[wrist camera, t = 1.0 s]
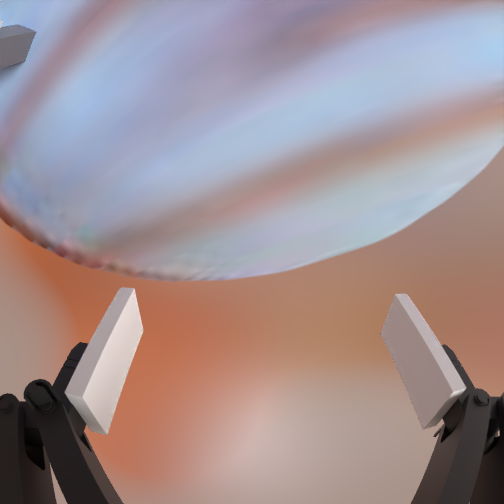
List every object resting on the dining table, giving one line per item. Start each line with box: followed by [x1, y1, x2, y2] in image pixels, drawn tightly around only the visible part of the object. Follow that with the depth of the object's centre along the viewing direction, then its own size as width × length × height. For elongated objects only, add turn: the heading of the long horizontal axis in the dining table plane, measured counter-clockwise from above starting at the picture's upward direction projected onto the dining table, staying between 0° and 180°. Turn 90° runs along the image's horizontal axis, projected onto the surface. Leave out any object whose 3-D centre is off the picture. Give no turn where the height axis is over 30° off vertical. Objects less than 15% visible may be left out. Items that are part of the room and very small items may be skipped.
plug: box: [0, 25, 36, 69], centre depth 18 cm, size 4×4×8 cm
